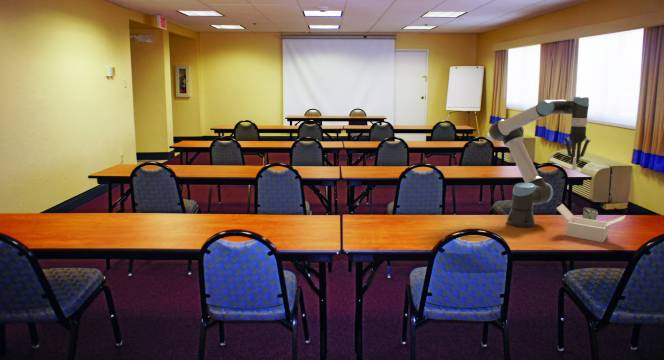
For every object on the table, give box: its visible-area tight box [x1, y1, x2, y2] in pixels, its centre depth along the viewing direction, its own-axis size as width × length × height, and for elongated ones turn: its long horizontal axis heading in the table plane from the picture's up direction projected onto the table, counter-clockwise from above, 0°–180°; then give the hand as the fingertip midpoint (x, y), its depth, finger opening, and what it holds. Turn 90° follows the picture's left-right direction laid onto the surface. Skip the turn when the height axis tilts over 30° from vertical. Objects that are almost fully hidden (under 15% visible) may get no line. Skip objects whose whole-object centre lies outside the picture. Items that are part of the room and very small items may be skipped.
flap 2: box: [605, 215, 627, 228], centre depth 265 cm, size 9×13×1 cm
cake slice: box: [582, 207, 599, 221], centre depth 290 cm, size 12×6×10 cm, turn 168°
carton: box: [565, 216, 610, 243], centre depth 273 cm, size 18×15×8 cm
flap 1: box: [555, 203, 574, 222], centre depth 279 cm, size 9×13×1 cm
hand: (574, 169), depth 277 cm, fingers closed
